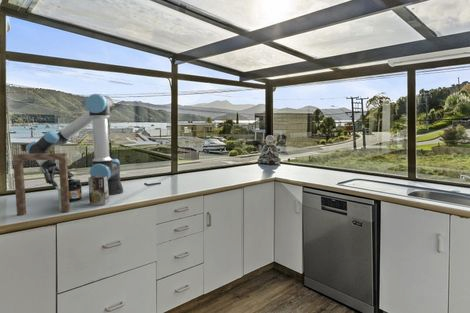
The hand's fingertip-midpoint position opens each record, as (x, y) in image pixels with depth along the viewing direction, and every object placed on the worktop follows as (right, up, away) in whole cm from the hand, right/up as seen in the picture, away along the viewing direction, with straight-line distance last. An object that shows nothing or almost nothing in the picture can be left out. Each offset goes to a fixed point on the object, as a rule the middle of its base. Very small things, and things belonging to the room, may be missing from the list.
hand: (69, 187), depth 185 cm
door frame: (+2, -10, -28) cm, 30 cm away
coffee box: (+23, -9, -9) cm, 26 cm away
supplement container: (+2, -8, +1) cm, 8 cm away
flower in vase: (-9, -6, +19) cm, 21 cm away
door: (+7, -9, -18) cm, 21 cm away
